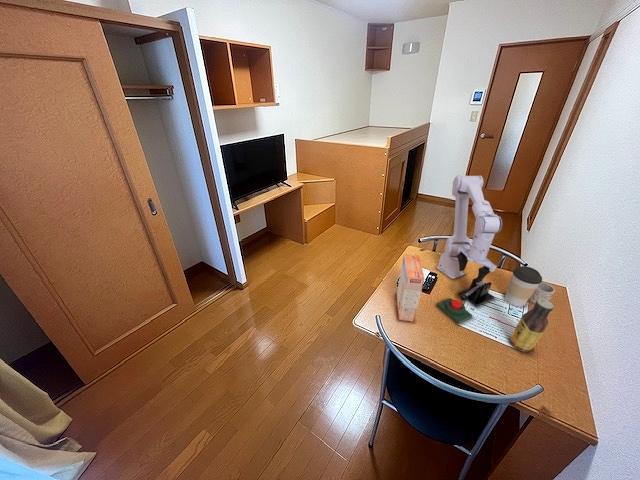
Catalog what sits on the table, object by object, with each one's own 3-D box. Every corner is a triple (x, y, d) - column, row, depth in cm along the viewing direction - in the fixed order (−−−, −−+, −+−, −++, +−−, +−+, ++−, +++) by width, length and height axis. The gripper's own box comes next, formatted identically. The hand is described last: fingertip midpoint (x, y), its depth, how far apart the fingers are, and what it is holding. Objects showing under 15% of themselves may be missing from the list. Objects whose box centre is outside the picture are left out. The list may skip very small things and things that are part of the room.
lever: (464, 303, 101) (463, 299, 100) (458, 299, 103) (458, 295, 102) (486, 286, 103) (486, 282, 101) (480, 282, 105) (480, 278, 103)
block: (436, 306, 102) (438, 300, 100) (449, 300, 104) (451, 294, 103) (457, 324, 94) (460, 318, 92) (471, 318, 97) (473, 311, 95)
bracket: (476, 307, 101) (482, 291, 97) (459, 294, 107) (464, 278, 103) (493, 299, 105) (500, 283, 100) (476, 287, 111) (481, 271, 107)
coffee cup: (521, 293, 107) (536, 264, 99) (533, 309, 99) (550, 279, 91) (497, 291, 108) (510, 262, 100) (507, 307, 101) (522, 277, 93)
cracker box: (414, 322, 96) (425, 278, 85) (397, 320, 97) (406, 276, 86) (411, 296, 107) (420, 254, 96) (396, 294, 108) (403, 253, 97)
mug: (550, 301, 103) (558, 288, 99) (542, 308, 100) (550, 295, 96) (523, 287, 110) (529, 274, 107) (515, 293, 107) (521, 280, 104)
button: (448, 304, 98) (449, 301, 98) (455, 301, 100) (456, 298, 99) (455, 311, 96) (457, 307, 95) (462, 308, 97) (464, 304, 96)
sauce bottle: (510, 333, 90) (533, 291, 80) (532, 343, 87) (559, 300, 76) (507, 346, 86) (531, 303, 76) (530, 357, 83) (558, 313, 72)
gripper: (455, 240, 99) (447, 268, 106) (491, 259, 87) (479, 290, 94) (469, 235, 101) (460, 263, 108) (505, 254, 90) (492, 284, 97)
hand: (470, 275), depth 101 cm, fingers open, 7 cm apart
